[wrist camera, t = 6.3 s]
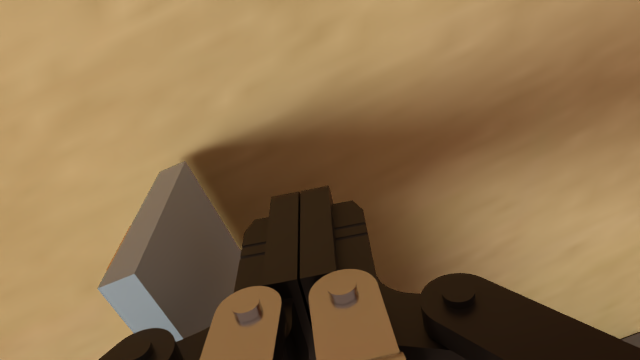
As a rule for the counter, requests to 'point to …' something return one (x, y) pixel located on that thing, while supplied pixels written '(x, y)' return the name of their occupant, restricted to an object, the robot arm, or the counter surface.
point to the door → (173, 259)
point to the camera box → (633, 340)
